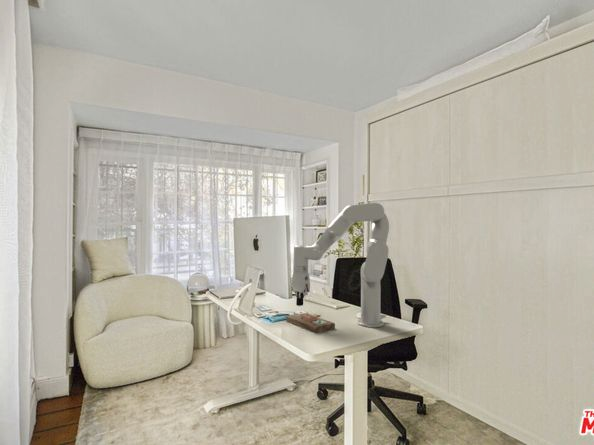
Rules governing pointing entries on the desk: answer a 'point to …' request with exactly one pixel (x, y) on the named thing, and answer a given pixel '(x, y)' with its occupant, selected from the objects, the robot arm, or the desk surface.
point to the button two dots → (309, 317)
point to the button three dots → (319, 322)
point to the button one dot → (299, 314)
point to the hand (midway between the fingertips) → (299, 305)
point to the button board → (310, 324)
